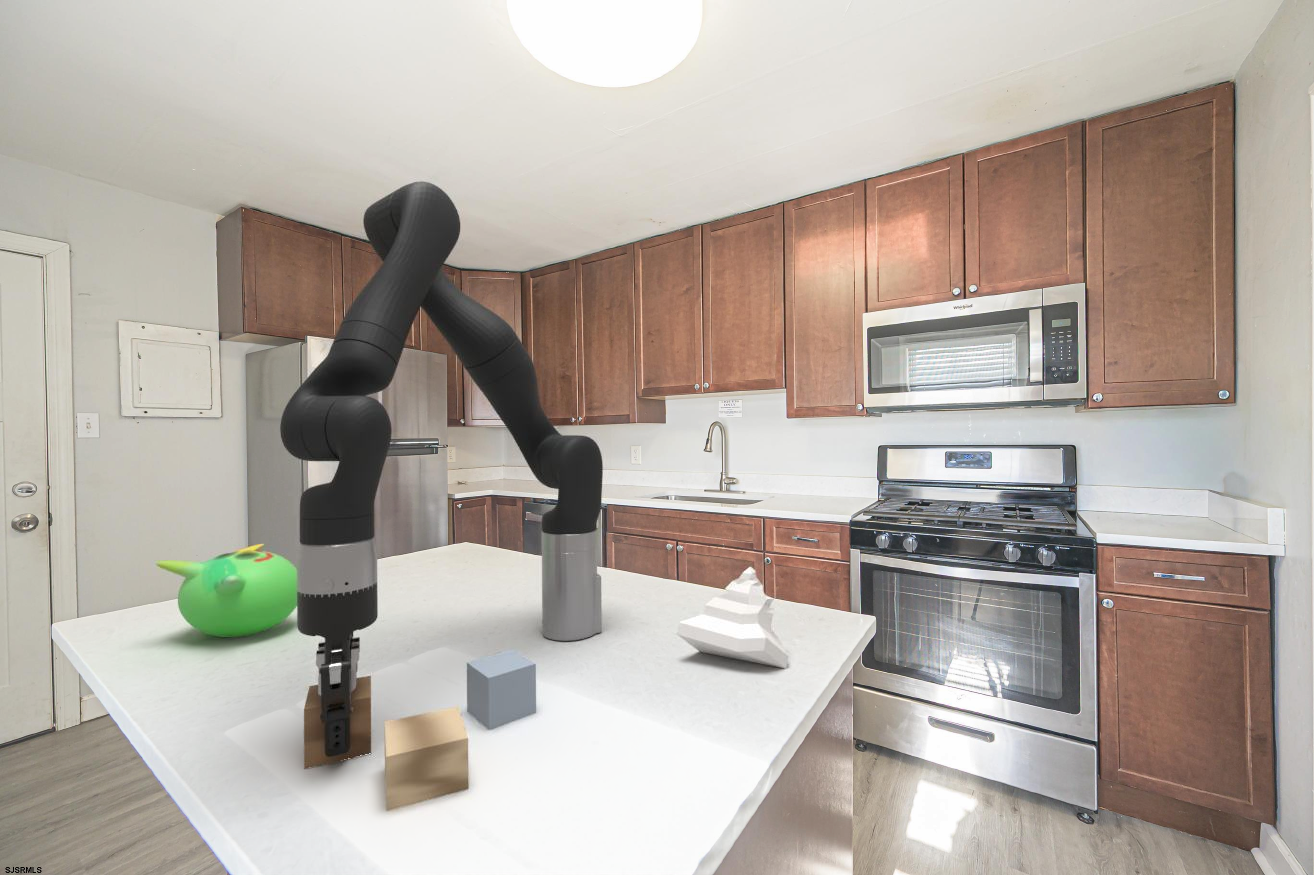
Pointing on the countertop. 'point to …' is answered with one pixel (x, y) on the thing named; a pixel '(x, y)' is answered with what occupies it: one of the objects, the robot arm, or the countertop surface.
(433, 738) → the oak base block
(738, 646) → the white seashell
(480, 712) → the slate block
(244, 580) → the toy bird
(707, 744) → the countertop surface
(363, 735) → the walnut block
